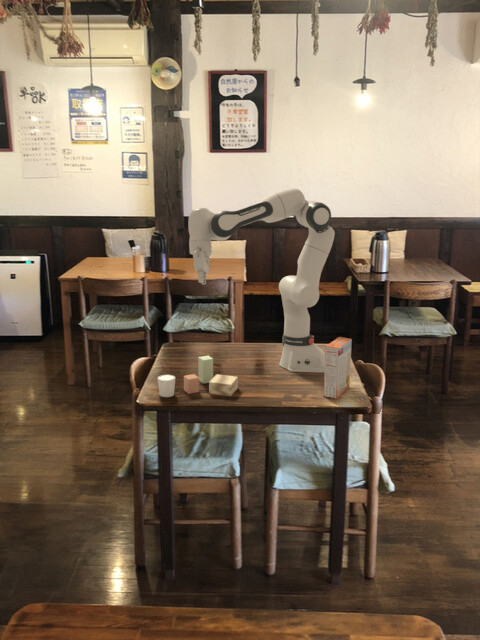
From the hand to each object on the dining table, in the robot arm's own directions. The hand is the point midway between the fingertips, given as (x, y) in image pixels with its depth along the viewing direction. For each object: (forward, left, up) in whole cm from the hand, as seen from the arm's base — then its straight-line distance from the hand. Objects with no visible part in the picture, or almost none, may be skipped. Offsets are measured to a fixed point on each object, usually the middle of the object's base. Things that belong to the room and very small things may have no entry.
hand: (202, 283), depth 247 cm
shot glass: (+7, +22, -40) cm, 46 cm away
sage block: (-3, +4, -40) cm, 40 cm away
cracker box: (-56, +1, -40) cm, 69 cm away
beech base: (-13, +12, -40) cm, 44 cm away
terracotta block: (-1, +16, -40) cm, 43 cm away
